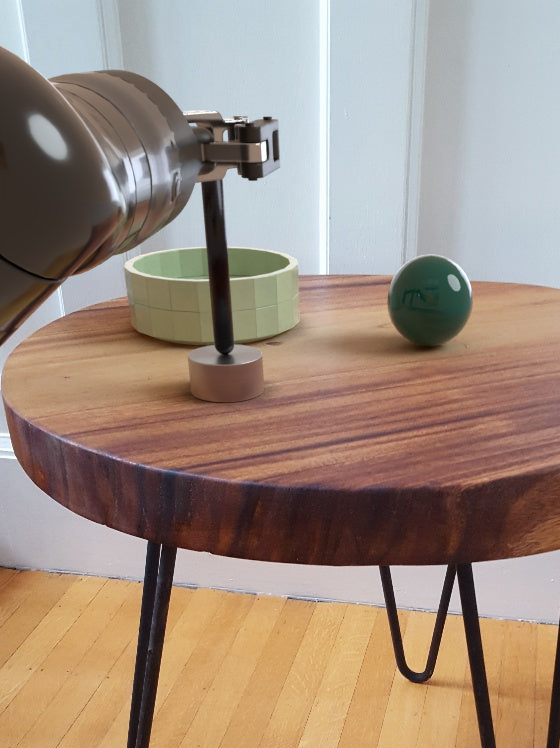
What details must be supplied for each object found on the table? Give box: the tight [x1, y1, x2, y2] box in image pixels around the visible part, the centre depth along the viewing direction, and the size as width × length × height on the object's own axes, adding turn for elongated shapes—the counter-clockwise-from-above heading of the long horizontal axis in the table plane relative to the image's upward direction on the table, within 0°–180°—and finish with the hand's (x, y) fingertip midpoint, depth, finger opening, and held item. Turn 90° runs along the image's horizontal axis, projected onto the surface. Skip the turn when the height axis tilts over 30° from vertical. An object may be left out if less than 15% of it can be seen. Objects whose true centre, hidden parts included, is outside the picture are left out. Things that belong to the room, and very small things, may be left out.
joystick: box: [187, 178, 265, 403], centre depth 74 cm, size 6×6×20 cm
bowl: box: [123, 246, 301, 346], centre depth 94 cm, size 17×17×6 cm
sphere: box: [387, 253, 474, 347], centre depth 89 cm, size 8×8×8 cm
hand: (175, 135), depth 59 cm, fingers open, 8 cm apart
